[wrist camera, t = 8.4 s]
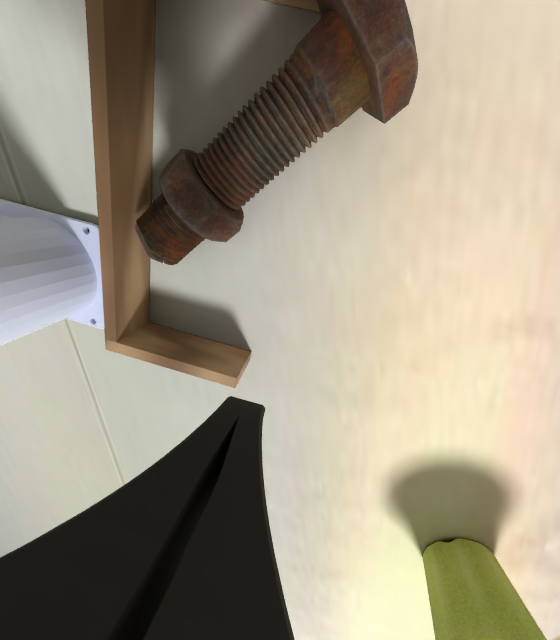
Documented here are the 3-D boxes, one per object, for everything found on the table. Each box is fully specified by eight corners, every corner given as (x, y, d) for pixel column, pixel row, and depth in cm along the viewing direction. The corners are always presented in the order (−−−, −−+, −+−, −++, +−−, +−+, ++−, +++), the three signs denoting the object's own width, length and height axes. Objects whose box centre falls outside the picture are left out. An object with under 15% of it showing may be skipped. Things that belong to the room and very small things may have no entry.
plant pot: (430, 511, 23) (481, 665, 16) (538, 545, 23) (650, 723, 15) (389, 565, 27) (413, 710, 19) (481, 595, 27) (545, 758, 19)
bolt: (179, 229, 20) (365, 54, 14) (202, 287, 18) (417, 121, 13) (94, 192, 14) (335, -114, 9) (117, 269, 13) (419, -29, 7)
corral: (139, 328, 21) (105, 349, 18) (140, -48, 13) (77, -136, 9) (249, 360, 20) (235, 388, 17) (328, -12, 12) (328, -92, 9)
